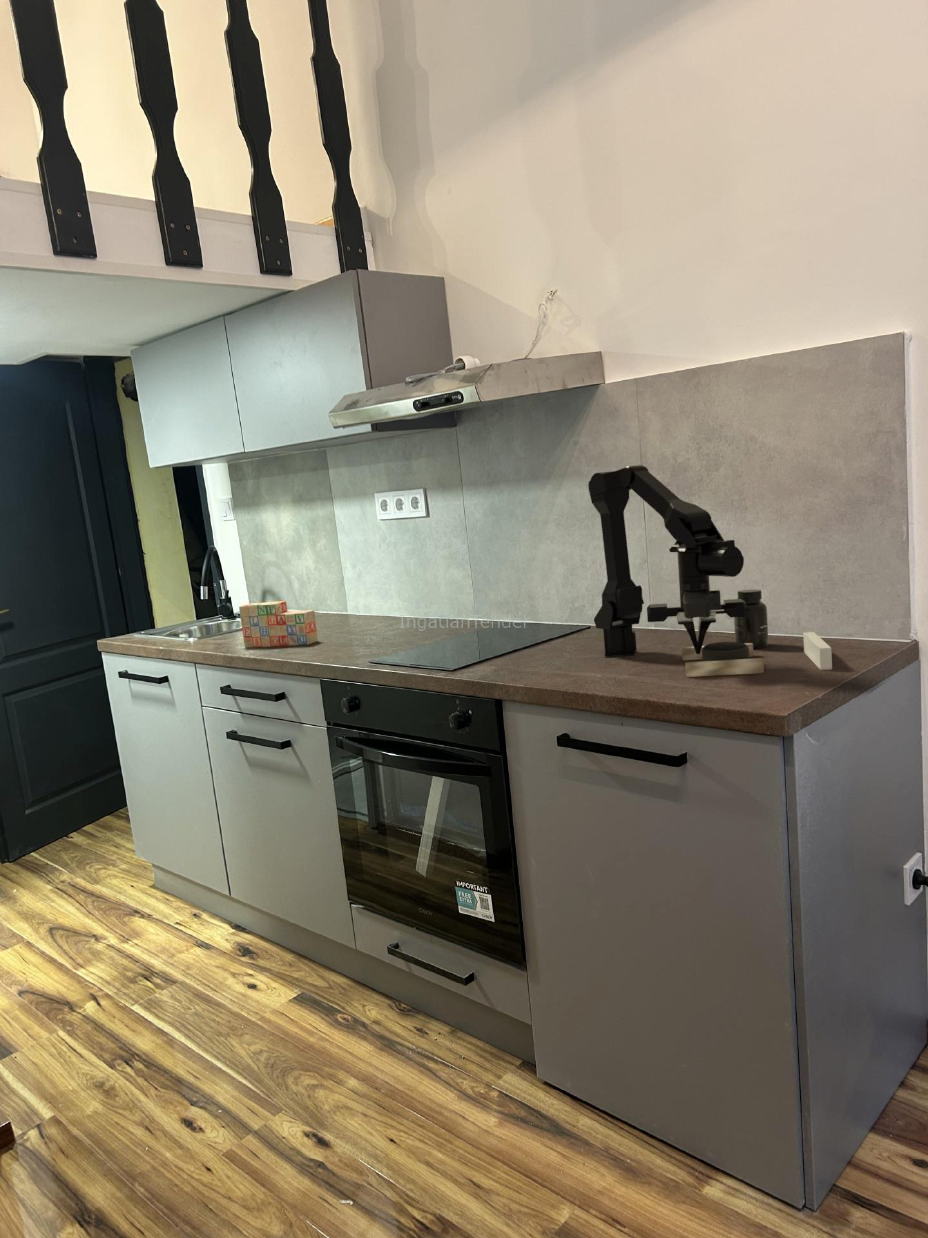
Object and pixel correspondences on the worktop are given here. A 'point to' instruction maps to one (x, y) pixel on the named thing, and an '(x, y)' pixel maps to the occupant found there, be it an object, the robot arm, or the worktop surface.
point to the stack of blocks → (276, 625)
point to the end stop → (817, 650)
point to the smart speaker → (725, 651)
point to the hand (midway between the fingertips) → (698, 653)
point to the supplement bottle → (752, 620)
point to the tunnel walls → (720, 664)
